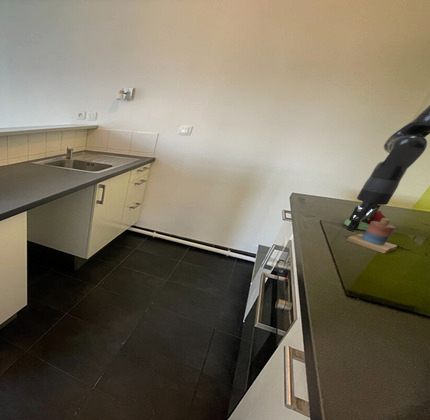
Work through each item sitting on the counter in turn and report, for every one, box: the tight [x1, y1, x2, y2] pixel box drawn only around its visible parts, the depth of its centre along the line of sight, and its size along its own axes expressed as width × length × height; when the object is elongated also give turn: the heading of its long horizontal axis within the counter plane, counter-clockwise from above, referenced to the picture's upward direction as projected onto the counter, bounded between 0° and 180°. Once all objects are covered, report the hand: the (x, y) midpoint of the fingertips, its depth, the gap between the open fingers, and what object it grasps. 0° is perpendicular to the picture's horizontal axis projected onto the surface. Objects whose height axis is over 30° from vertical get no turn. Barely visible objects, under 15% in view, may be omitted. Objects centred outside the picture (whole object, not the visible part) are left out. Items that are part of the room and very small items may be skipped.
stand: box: [346, 217, 398, 255], centre depth 84 cm, size 9×9×10 cm
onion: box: [367, 209, 386, 224], centre depth 98 cm, size 6×6×8 cm
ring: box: [343, 218, 369, 231], centre depth 96 cm, size 7×7×2 cm
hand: (354, 229), depth 97 cm, fingers closed on ring, 6 cm apart
